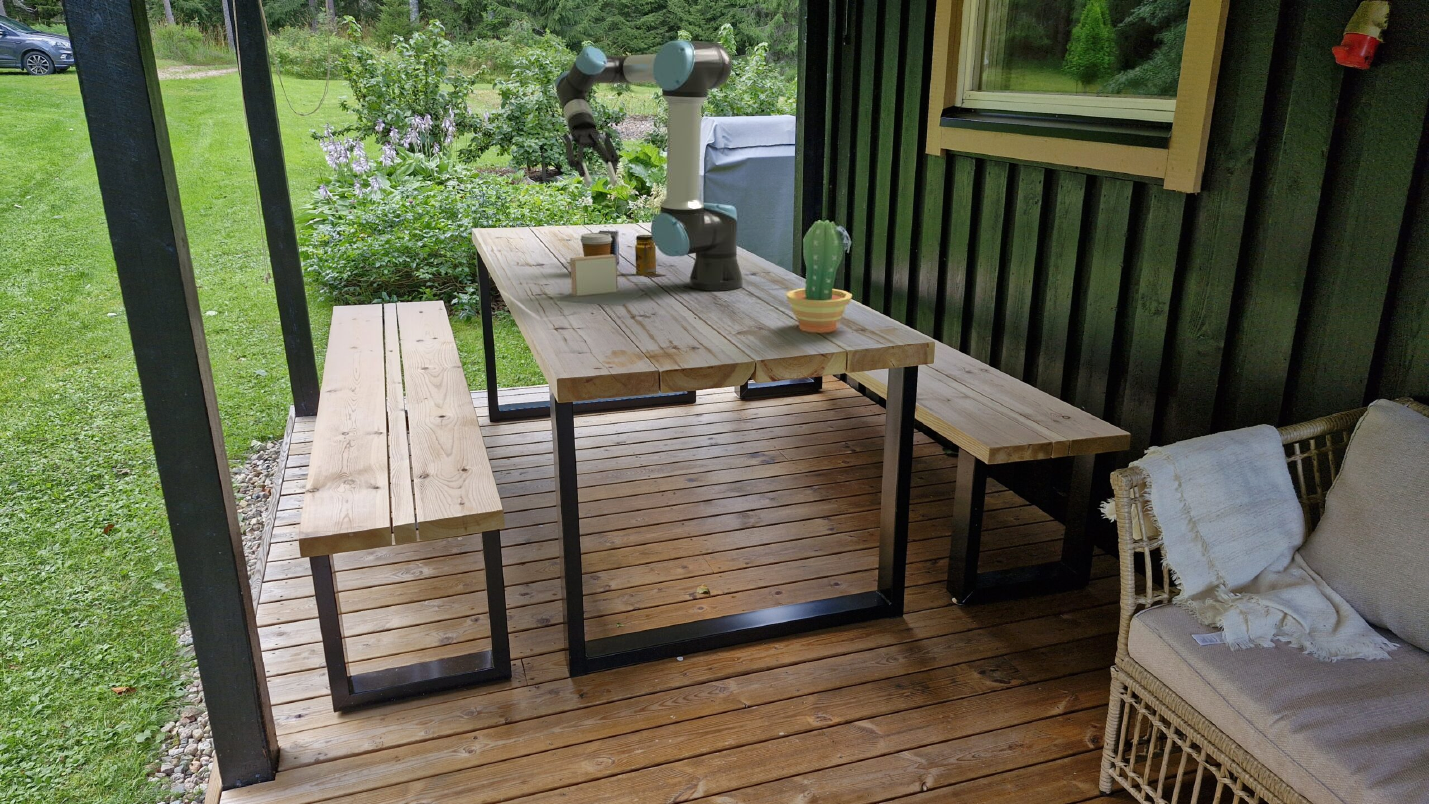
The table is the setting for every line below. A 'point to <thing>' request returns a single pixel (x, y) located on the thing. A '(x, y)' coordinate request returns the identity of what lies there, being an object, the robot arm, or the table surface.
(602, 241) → the disposable coffee cup
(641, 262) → the condiment
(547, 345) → the table surface
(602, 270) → the tile
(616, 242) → the small box
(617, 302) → the mat
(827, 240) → the potted cactus
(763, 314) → the table surface
